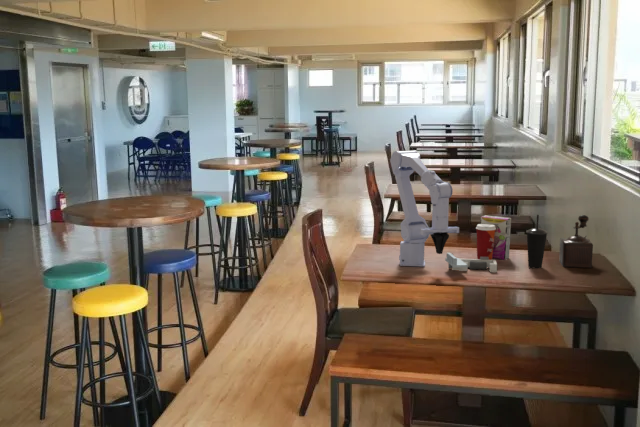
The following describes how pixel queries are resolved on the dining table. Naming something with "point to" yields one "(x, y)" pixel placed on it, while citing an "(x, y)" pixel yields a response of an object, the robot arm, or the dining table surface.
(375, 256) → the dining table surface
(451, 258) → the cover
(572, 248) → the manual coffee grinder
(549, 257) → the dining table surface
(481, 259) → the pale grey rectangular block
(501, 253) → the candy bar box
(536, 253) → the drinking cup
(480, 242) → the paper cup
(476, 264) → the gray tin can
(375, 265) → the dining table surface
